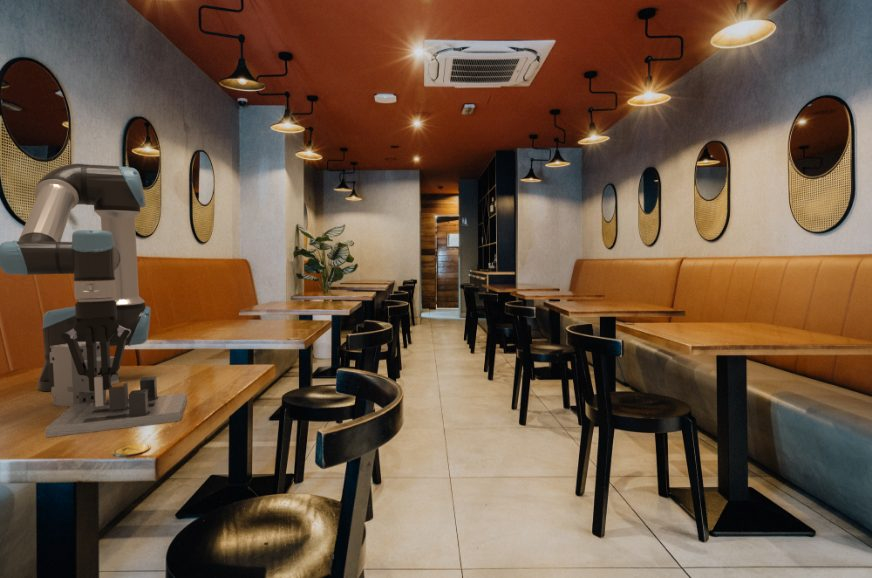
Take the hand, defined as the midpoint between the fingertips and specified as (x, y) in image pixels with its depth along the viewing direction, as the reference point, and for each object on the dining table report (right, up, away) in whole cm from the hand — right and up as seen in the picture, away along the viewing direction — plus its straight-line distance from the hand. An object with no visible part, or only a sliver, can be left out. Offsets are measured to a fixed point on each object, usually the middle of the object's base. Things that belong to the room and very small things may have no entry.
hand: (101, 404), depth 109 cm
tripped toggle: (+3, -1, +1) cm, 4 cm away
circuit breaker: (-13, -3, +15) cm, 21 cm away
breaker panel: (+4, -3, +2) cm, 6 cm away
